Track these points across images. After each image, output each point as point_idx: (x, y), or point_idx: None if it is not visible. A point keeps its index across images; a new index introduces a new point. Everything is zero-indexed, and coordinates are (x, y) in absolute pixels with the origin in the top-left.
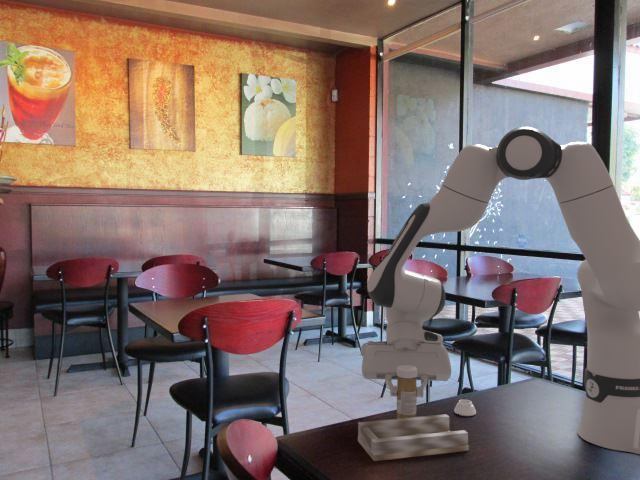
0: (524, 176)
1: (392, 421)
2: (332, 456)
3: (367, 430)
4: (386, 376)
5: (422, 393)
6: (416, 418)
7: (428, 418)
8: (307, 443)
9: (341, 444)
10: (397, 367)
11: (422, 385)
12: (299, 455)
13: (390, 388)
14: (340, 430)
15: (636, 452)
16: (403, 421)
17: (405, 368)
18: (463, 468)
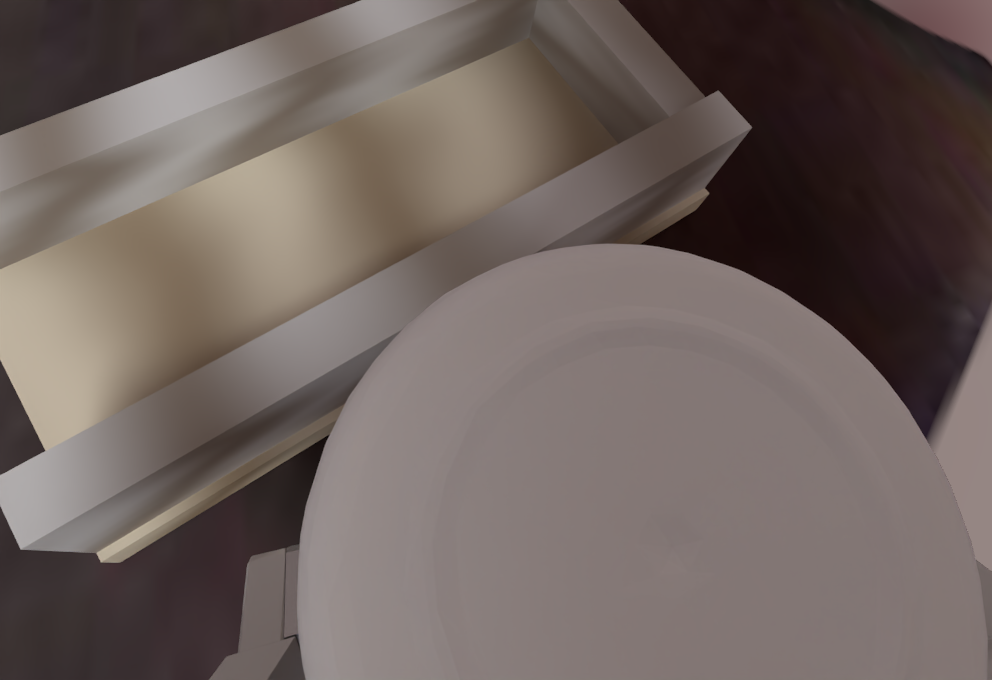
0: None
1: (531, 201)
2: (726, 23)
3: (650, 68)
4: (990, 590)
5: (265, 554)
6: (345, 323)
7: (229, 356)
8: (905, 121)
9: (754, 149)
10: (930, 452)
11: (245, 673)
12: (857, 6)
13: None
14: (859, 331)
15: None
16: (448, 236)
17: (669, 376)
18: (43, 25)
